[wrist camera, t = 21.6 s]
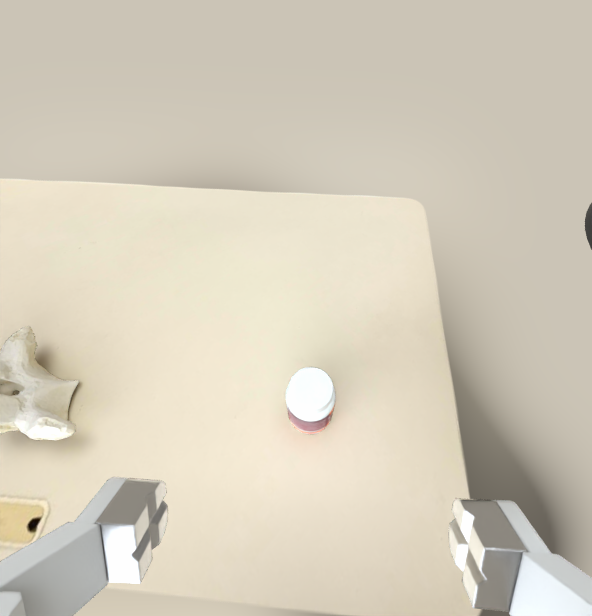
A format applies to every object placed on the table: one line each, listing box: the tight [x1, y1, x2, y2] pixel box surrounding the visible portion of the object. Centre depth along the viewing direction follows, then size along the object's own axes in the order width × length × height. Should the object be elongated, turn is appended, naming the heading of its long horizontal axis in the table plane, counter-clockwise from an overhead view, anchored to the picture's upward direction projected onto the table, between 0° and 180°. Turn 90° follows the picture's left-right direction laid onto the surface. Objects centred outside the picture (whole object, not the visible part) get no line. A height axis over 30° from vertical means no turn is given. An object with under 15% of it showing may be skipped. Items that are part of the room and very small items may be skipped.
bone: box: [0, 326, 79, 440], centre depth 36 cm, size 9×14×8 cm, turn 53°
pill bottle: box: [286, 367, 336, 434], centre depth 35 cm, size 5×5×8 cm
